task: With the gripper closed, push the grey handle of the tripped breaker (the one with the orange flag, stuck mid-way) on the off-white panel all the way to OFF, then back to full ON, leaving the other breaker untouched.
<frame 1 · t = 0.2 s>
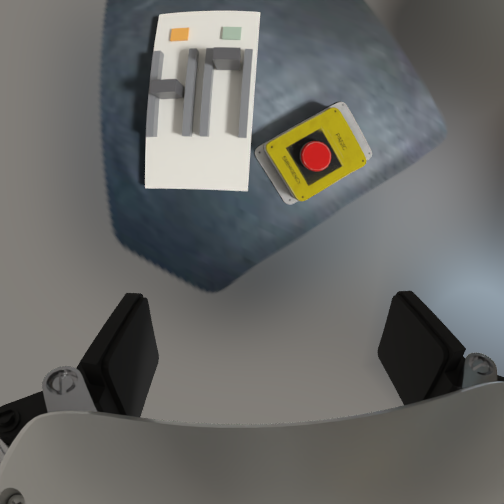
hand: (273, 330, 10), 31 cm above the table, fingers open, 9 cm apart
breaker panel: (201, 94, 34), on the table
tripped breaker: (168, 89, 30), point 4 cm above the table, slide at 0.0 cm
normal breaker: (227, 59, 29), point 4 cm above the table, slide at -4.0 cm
emergency button: (315, 151, 38), on the table
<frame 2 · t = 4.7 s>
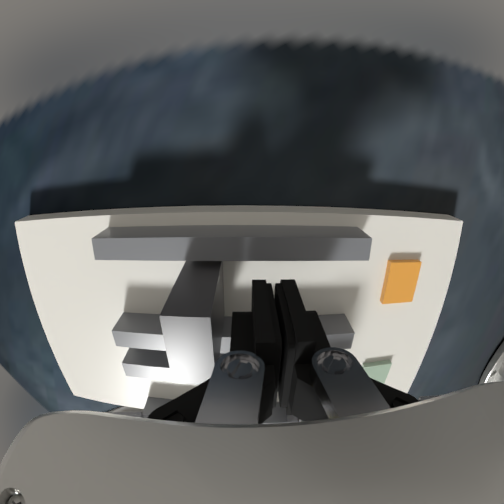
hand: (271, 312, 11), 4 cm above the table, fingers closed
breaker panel: (233, 325, 17), on the table
tripped breaker: (199, 314, 11), point 4 cm above the table, slide at 1.1 cm, touching gripper
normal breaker: (305, 416, 14), point 4 cm above the table, slide at -4.0 cm
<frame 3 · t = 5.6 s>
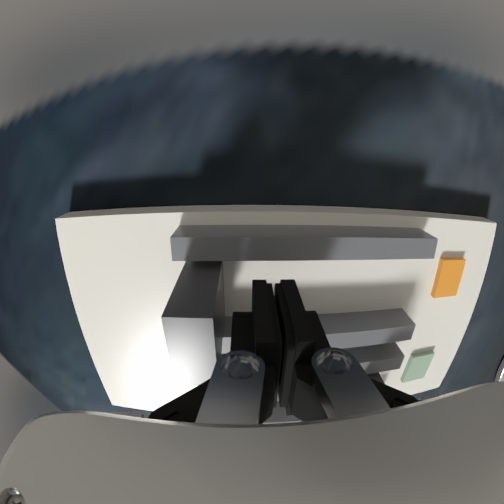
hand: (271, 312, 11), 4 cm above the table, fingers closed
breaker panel: (296, 323, 17), on the table
tripped breaker: (200, 314, 11), point 4 cm above the table, slide at 4.8 cm, touching gripper
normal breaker: (367, 406, 14), point 4 cm above the table, slide at -4.0 cm
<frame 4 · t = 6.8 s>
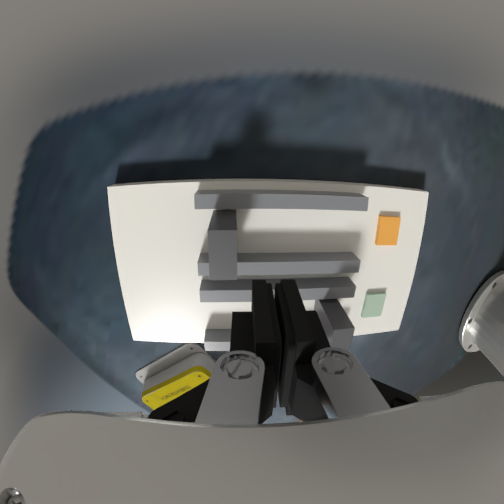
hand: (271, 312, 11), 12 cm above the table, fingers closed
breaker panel: (275, 264, 24), on the table
tripped breaker: (224, 241, 18), point 4 cm above the table, slide at 4.1 cm
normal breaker: (331, 325, 21), point 4 cm above the table, slide at -4.0 cm
emergency button: (206, 392, 30), on the table
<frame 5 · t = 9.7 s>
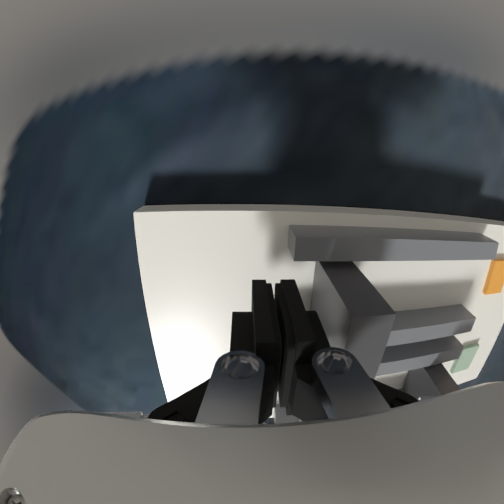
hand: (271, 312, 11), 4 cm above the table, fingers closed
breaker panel: (372, 321, 16), on the table
tripped breaker: (344, 313, 11), point 4 cm above the table, slide at 3.9 cm, touching gripper
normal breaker: (433, 395, 14), point 4 cm above the table, slide at -4.0 cm
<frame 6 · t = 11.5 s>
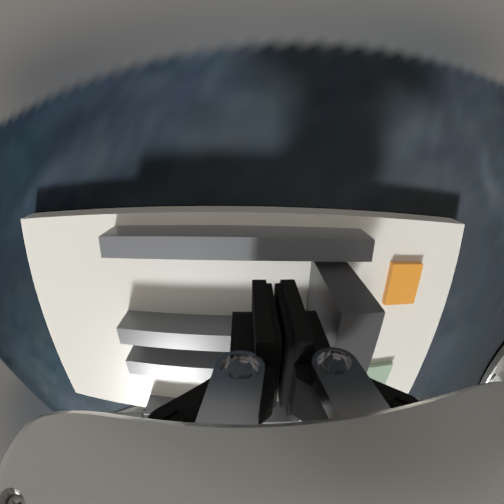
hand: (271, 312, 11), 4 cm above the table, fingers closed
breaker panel: (236, 324, 17), on the table
tripped breaker: (337, 312, 12), point 4 cm above the table, slide at -4.4 cm, touching gripper
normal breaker: (307, 415, 14), point 4 cm above the table, slide at -4.0 cm
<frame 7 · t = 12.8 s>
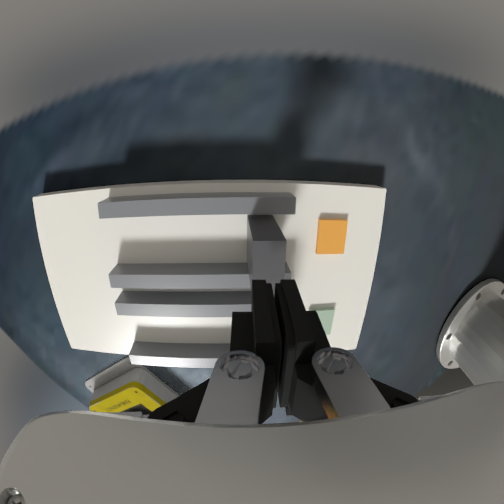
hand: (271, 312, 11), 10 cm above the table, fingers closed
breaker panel: (201, 274, 21), on the table
tripped breaker: (263, 251, 16), point 4 cm above the table, slide at -4.1 cm
emergency button: (155, 406, 28), on the table
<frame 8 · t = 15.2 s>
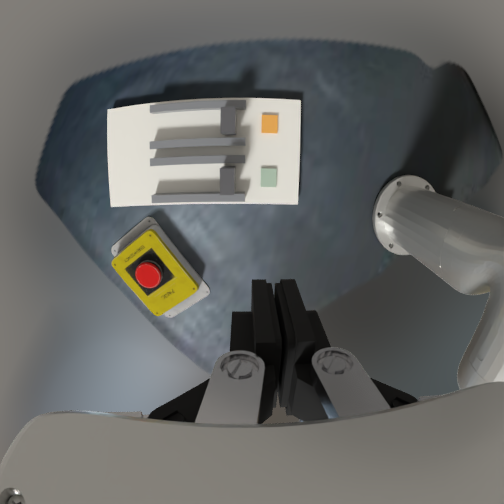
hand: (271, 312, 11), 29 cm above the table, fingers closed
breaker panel: (200, 150, 36), on the table
tripped breaker: (229, 121, 31), point 4 cm above the table, slide at -4.1 cm
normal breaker: (228, 179, 34), point 4 cm above the table, slide at -4.0 cm
emergency button: (160, 268, 43), on the table
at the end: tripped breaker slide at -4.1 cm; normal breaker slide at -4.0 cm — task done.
